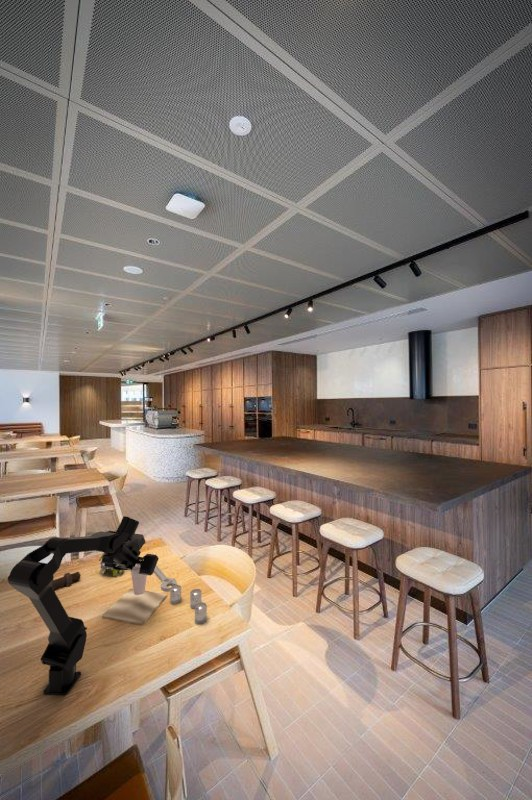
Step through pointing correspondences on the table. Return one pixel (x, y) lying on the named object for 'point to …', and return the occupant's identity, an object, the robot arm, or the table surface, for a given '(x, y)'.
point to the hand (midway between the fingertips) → (141, 569)
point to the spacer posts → (191, 603)
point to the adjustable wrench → (164, 580)
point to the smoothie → (138, 580)
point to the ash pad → (135, 607)
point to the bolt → (66, 580)
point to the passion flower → (108, 568)
